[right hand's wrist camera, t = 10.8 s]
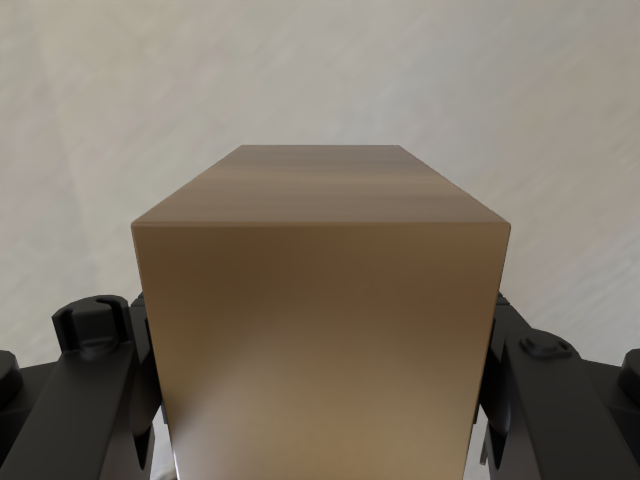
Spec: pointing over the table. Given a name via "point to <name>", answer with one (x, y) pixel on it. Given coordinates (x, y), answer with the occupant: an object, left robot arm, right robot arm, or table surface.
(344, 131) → the table surface
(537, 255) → the table surface
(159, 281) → the bar
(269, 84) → the table surface
